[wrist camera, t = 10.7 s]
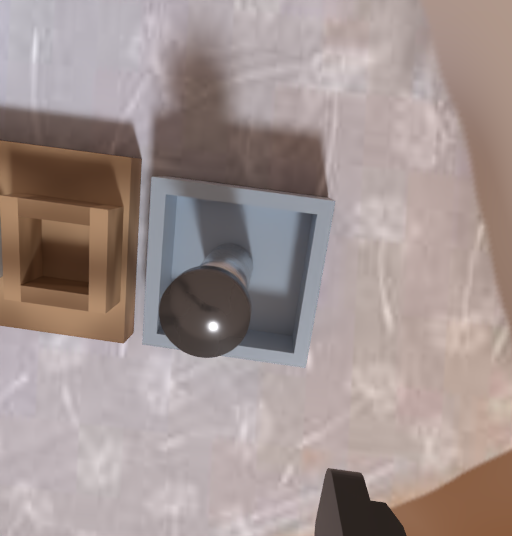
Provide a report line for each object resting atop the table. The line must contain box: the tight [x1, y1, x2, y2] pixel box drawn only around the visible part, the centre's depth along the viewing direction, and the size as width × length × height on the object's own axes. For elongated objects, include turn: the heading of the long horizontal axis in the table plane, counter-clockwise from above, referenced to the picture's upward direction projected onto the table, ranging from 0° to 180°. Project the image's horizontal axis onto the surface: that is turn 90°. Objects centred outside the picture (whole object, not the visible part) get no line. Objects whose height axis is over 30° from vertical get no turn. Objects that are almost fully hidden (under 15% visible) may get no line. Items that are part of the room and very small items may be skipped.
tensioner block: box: [0, 140, 142, 343], centre depth 27 cm, size 14×16×5 cm
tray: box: [142, 176, 335, 368], centre depth 27 cm, size 12×12×4 cm
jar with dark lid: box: [159, 243, 253, 358], centre depth 24 cm, size 5×5×10 cm
